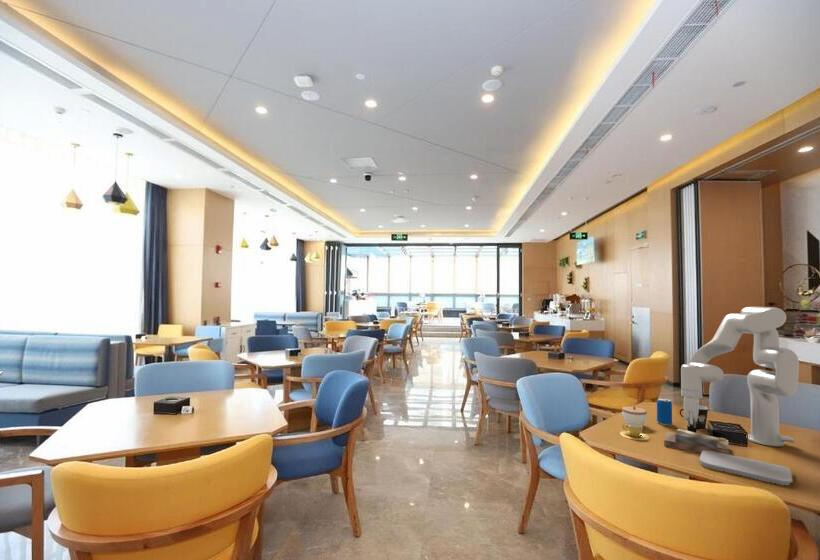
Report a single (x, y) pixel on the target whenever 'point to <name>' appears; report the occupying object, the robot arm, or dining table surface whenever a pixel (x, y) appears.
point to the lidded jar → (634, 414)
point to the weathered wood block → (692, 443)
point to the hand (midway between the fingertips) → (692, 435)
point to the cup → (633, 431)
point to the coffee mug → (700, 417)
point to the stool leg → (720, 441)
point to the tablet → (746, 467)
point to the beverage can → (664, 411)
